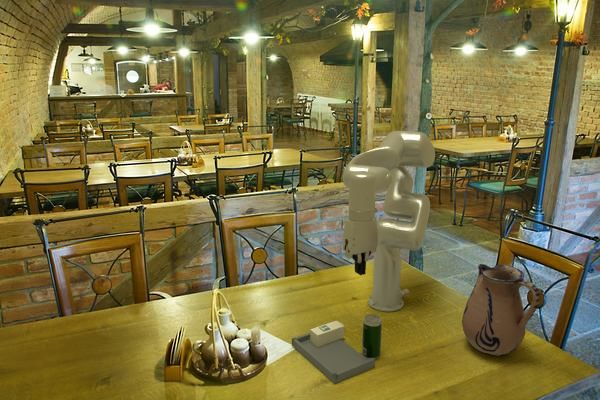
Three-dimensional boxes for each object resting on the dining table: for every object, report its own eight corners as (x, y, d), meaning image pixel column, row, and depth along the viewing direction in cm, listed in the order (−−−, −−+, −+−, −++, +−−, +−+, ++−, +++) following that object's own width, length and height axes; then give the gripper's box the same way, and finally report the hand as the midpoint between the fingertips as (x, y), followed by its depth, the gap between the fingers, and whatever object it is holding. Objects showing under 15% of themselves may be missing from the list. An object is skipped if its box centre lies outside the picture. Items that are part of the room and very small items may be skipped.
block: (336, 319, 153) (310, 328, 148) (344, 325, 150) (317, 334, 145) (336, 331, 154) (310, 341, 149) (344, 337, 151) (317, 347, 146)
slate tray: (329, 332, 156) (329, 325, 155) (374, 366, 138) (374, 359, 137) (291, 345, 148) (291, 338, 148) (334, 383, 130) (334, 375, 130)
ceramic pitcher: (476, 326, 159) (483, 254, 153) (543, 351, 145) (555, 274, 138) (449, 347, 147) (456, 270, 141) (519, 377, 133) (530, 293, 126)
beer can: (370, 362, 140) (371, 325, 137) (358, 353, 144) (359, 317, 141) (384, 356, 143) (386, 319, 139) (371, 348, 147) (373, 312, 144)
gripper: (374, 207, 146) (372, 263, 151) (332, 215, 139) (332, 274, 144) (390, 213, 140) (388, 272, 145) (347, 222, 133) (346, 283, 138)
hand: (360, 273), depth 144 cm, fingers closed
